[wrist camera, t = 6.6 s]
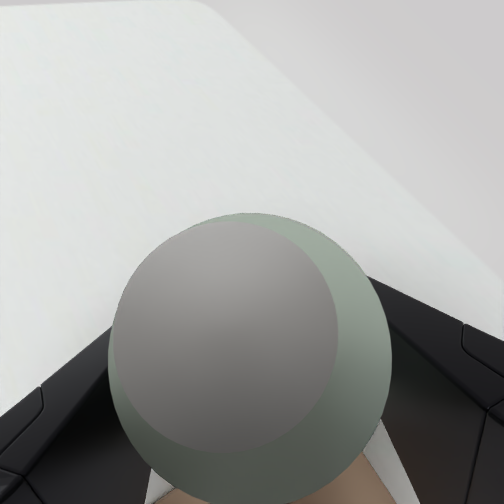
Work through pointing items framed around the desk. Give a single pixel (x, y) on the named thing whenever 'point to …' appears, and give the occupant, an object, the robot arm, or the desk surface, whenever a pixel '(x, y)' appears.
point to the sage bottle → (249, 360)
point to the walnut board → (325, 489)
